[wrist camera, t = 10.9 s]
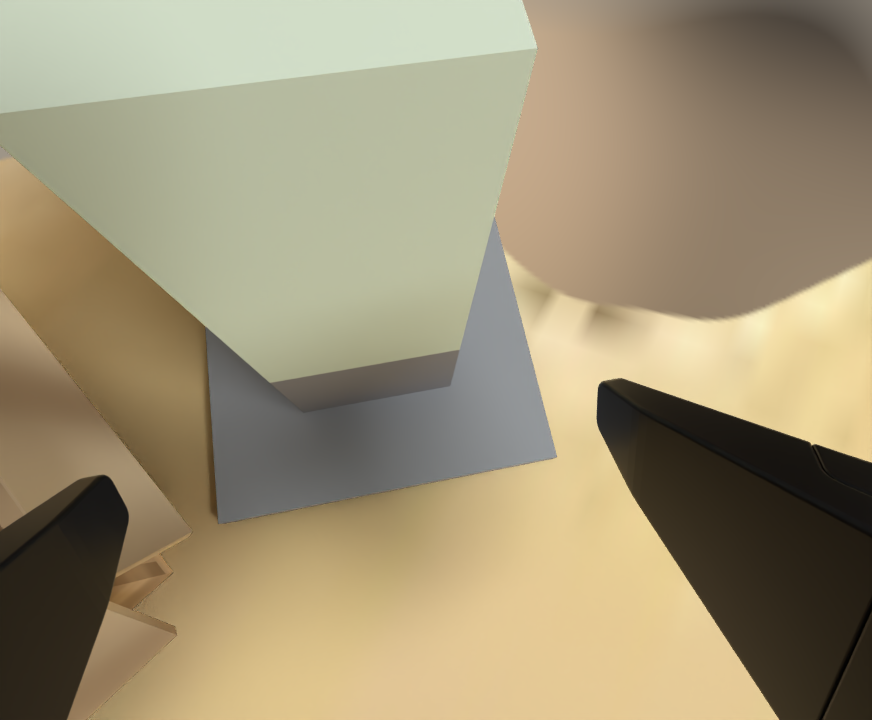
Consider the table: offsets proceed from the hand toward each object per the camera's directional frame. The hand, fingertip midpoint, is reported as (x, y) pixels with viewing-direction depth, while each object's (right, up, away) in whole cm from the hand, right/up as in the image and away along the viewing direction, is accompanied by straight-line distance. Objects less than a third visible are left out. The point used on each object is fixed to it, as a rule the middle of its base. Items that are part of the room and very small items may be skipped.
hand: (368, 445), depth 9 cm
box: (-1, +3, +8) cm, 9 cm away
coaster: (-1, +2, +9) cm, 9 cm away
